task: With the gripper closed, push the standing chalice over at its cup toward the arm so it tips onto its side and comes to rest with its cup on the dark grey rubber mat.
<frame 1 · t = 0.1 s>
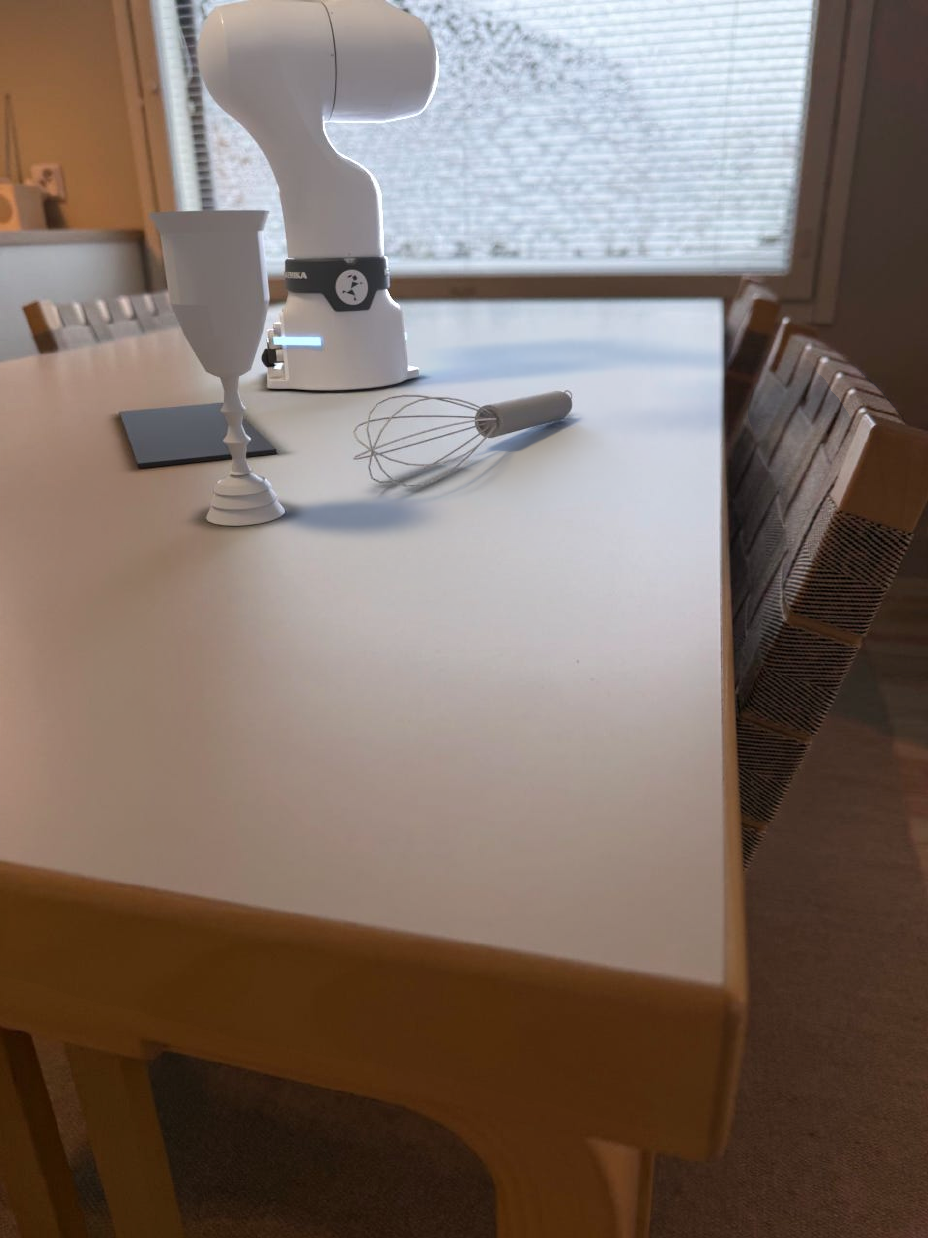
chalice: (246, 517, 60), on the table
mat: (189, 432, 86), on the table
kitchen whisk: (481, 452, 76), on the table
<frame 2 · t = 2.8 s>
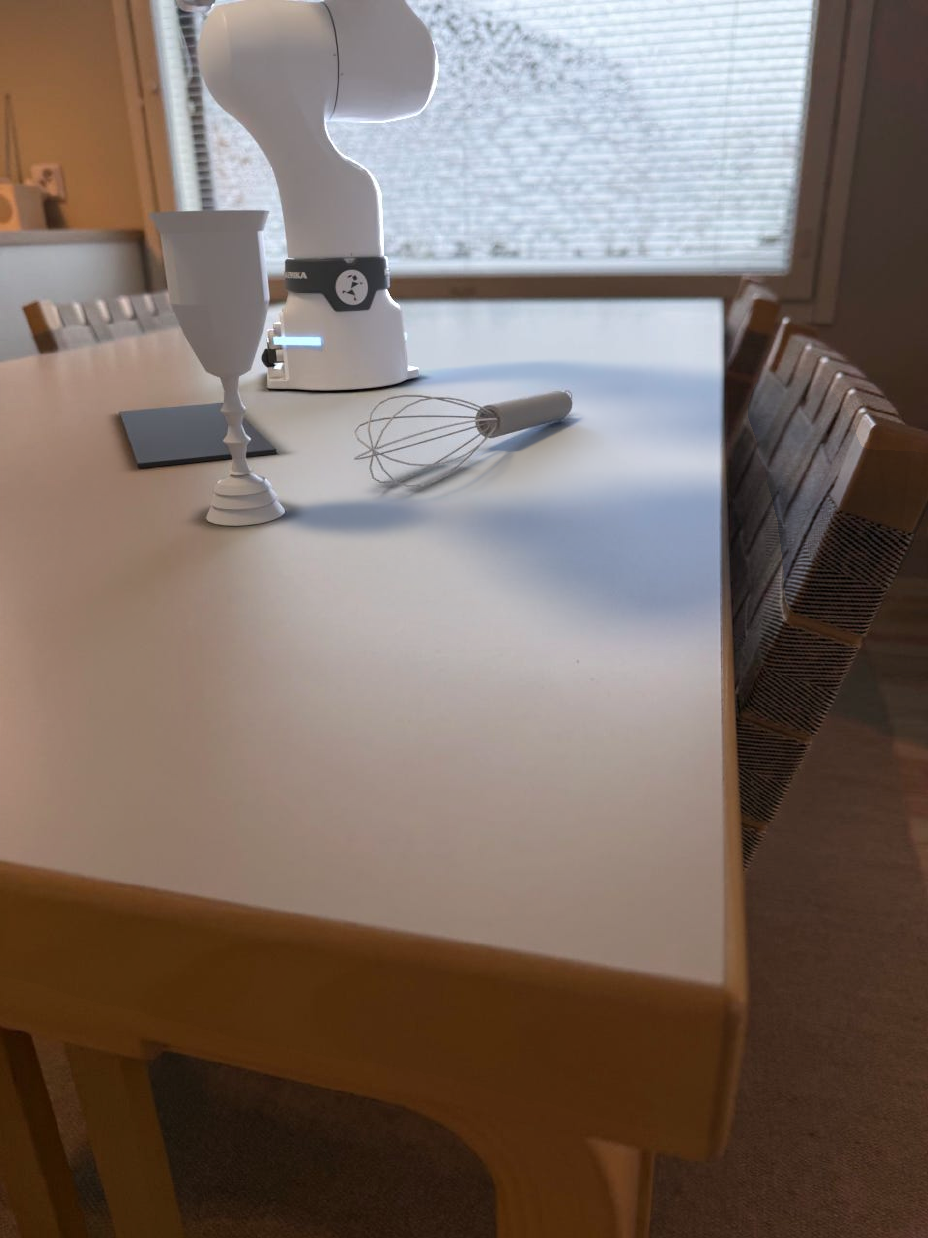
nothing on the table moved.
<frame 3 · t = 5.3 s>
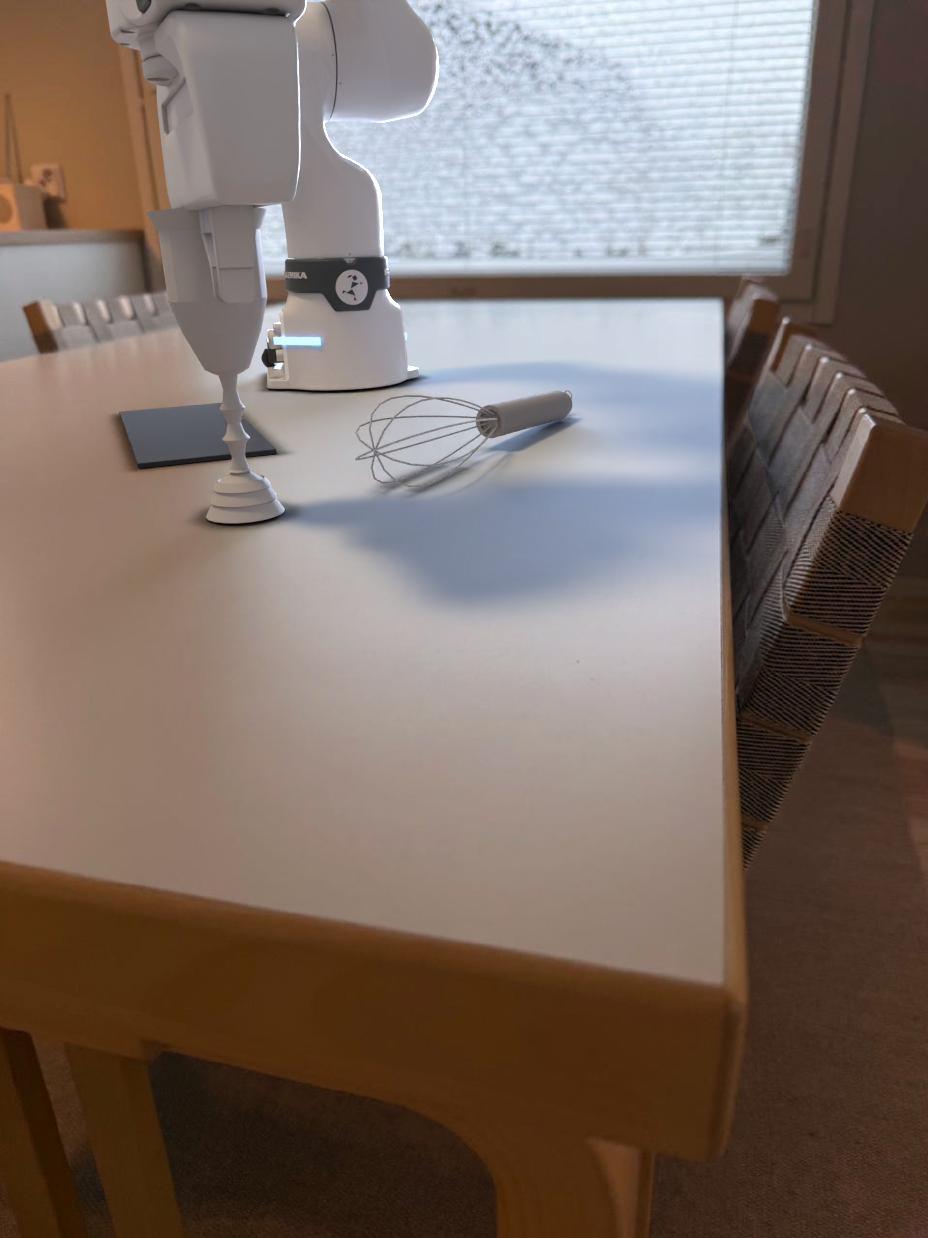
hand: (235, 302, 50), 13 cm above the table, tool pointing down, fingers closed
chalice: (246, 515, 60), on the table, touching gripper
everything else where it was.
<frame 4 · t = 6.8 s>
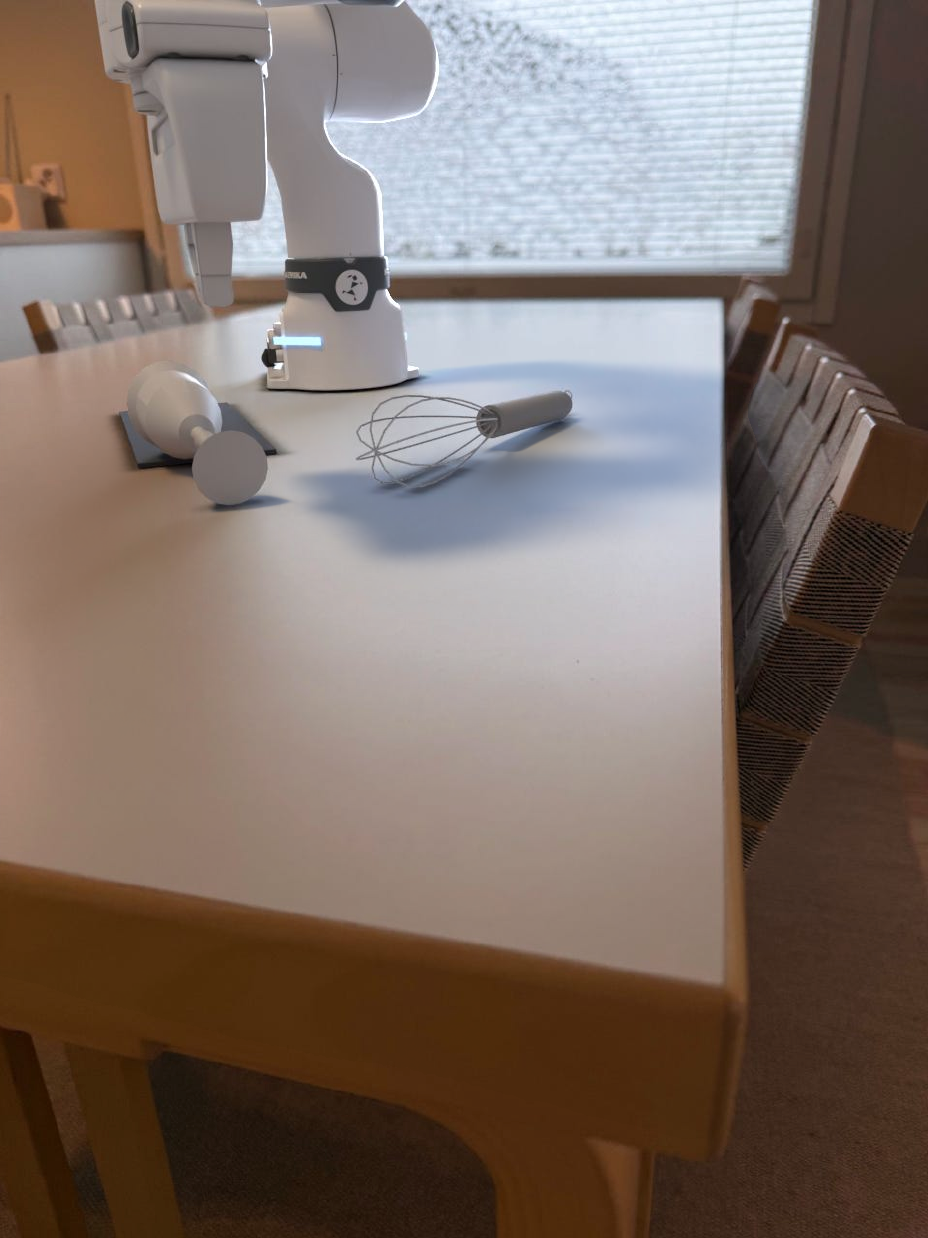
hand: (216, 305, 57), 13 cm above the table, tool pointing down, fingers closed
chalice: (231, 469, 61), point 3 cm above the table, touching mat
everything else where it was.
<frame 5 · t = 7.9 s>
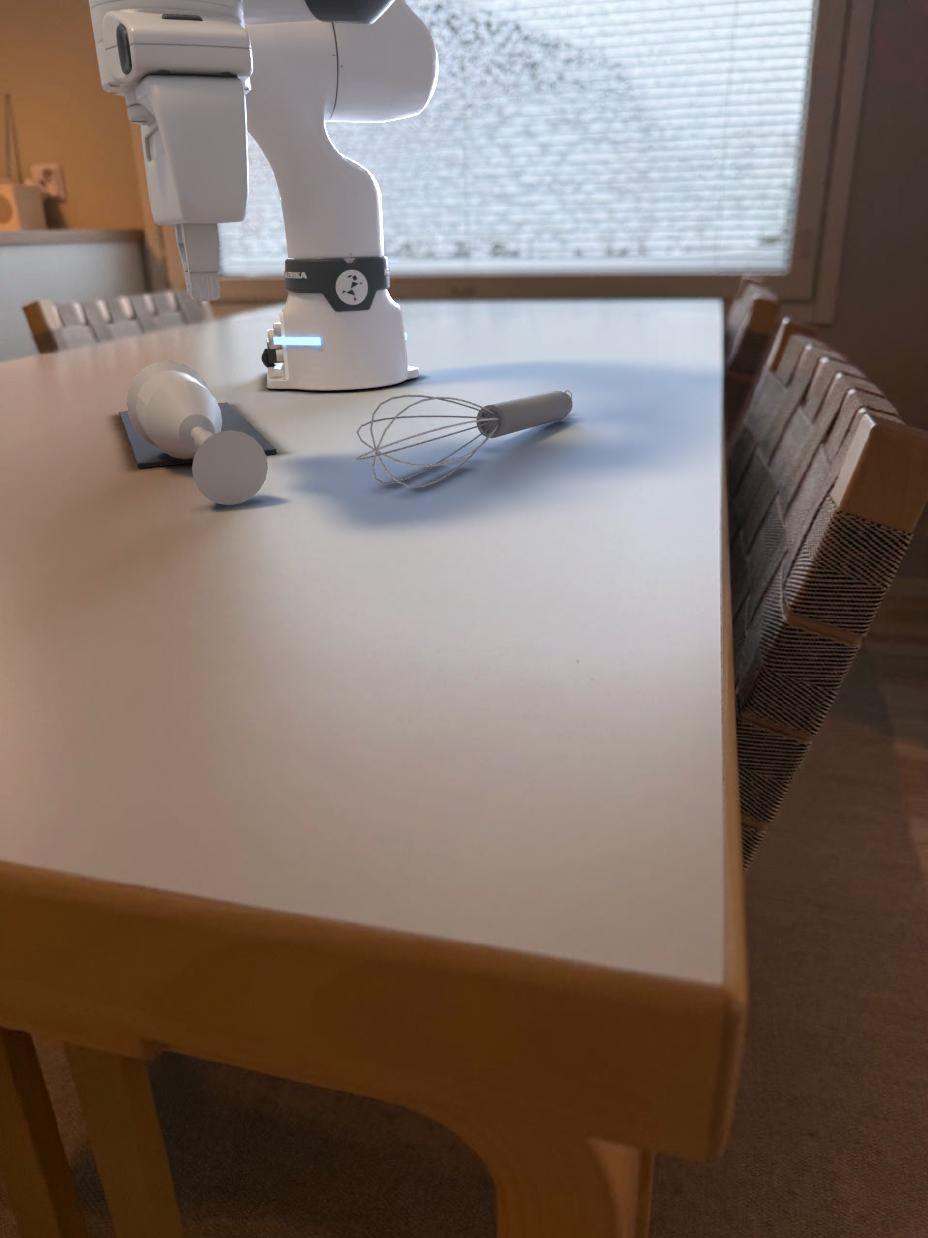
hand: (204, 299, 61), 13 cm above the table, tool pointing down, fingers closed
nothing on the table moved.
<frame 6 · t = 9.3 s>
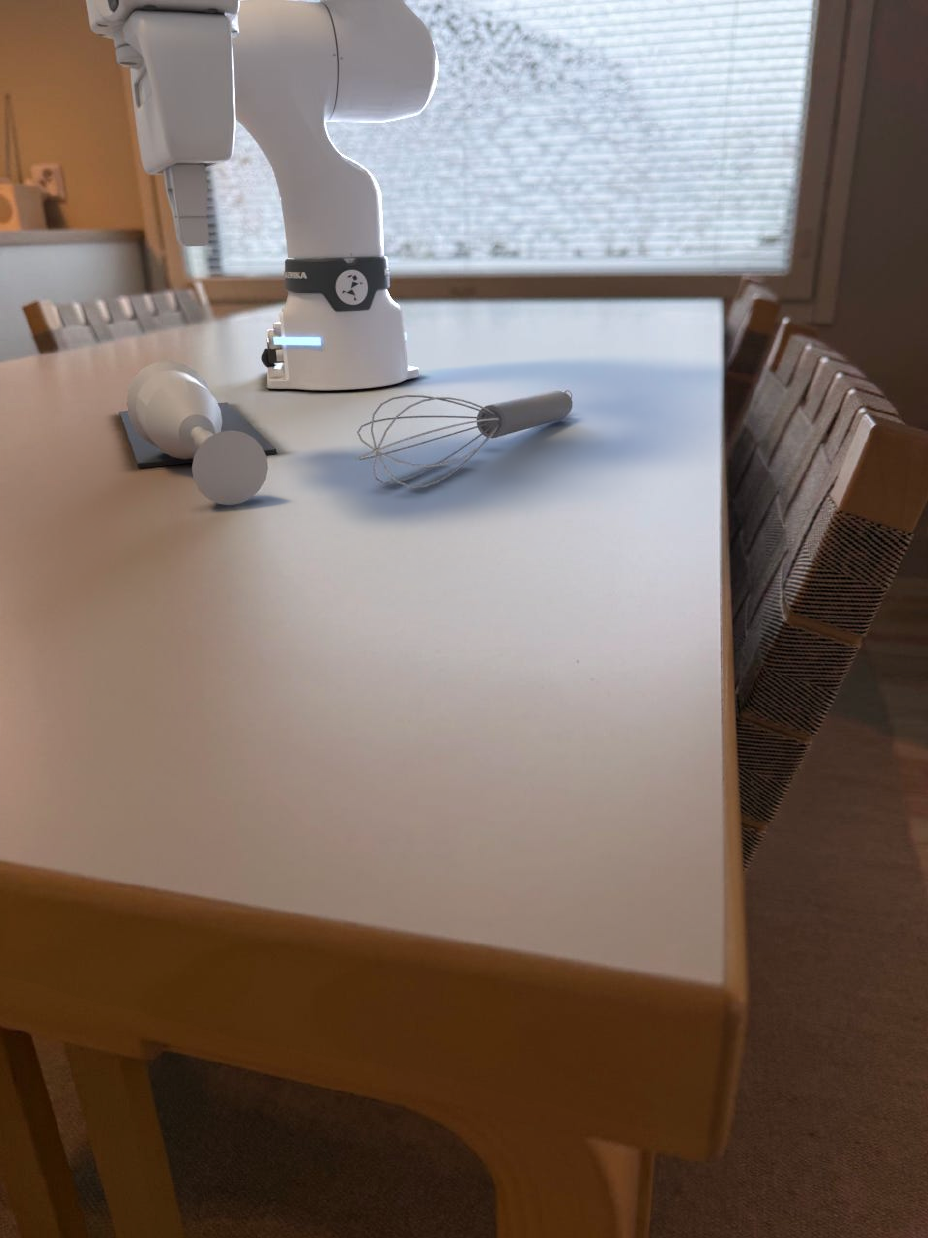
hand: (193, 245, 62), 16 cm above the table, tool pointing down, fingers closed
nothing on the table moved.
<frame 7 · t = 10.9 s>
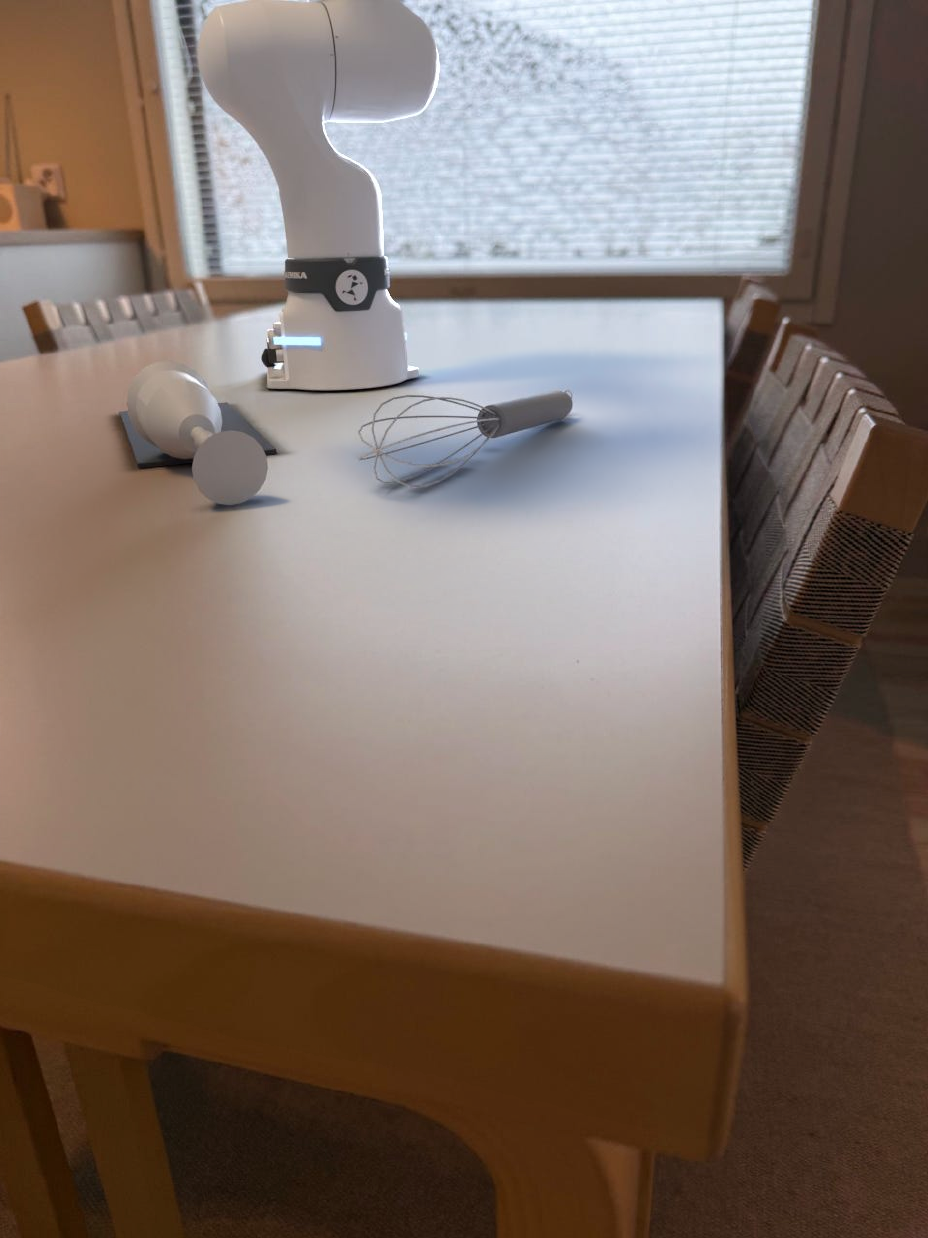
nothing on the table moved.
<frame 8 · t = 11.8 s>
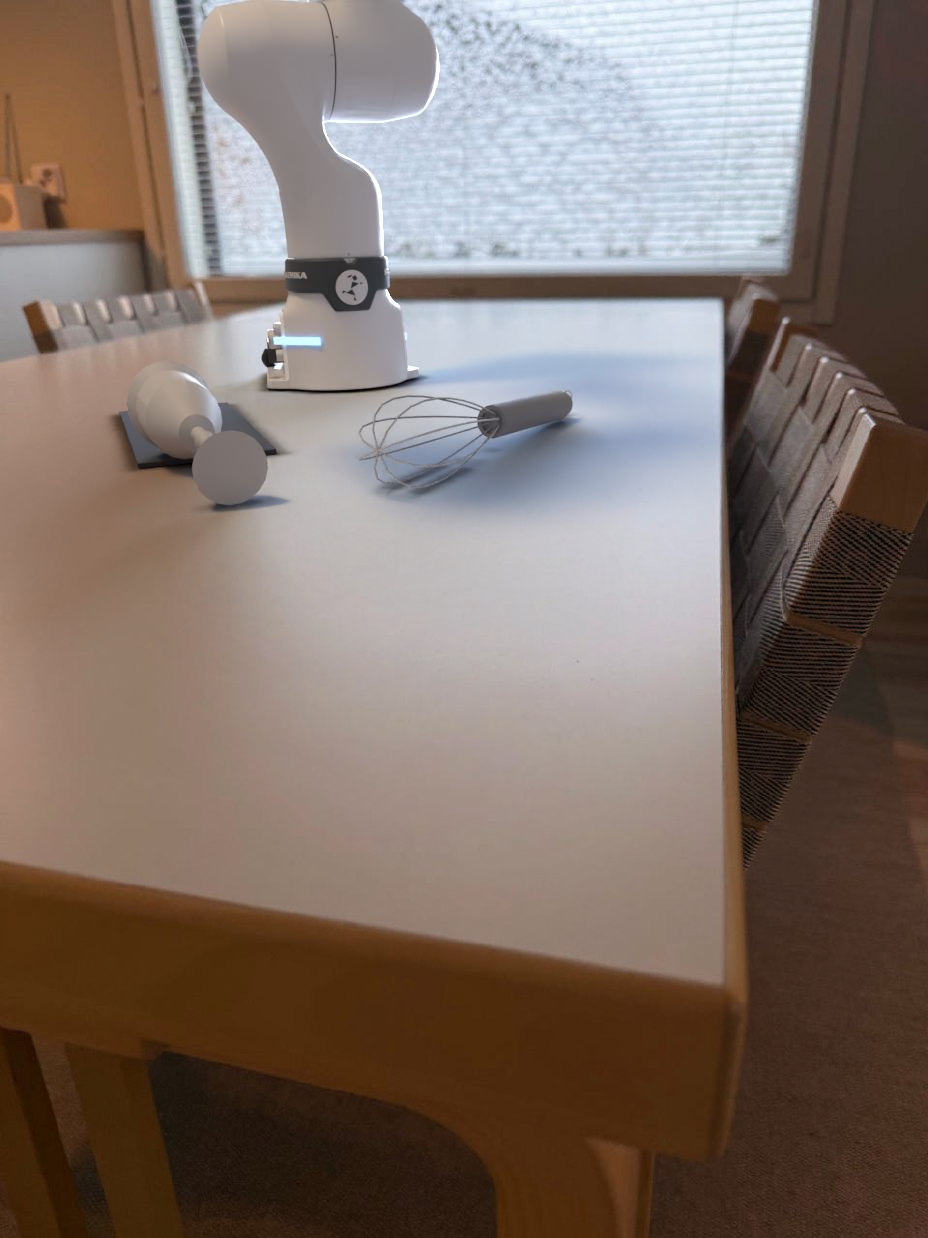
nothing on the table moved.
at the end: chalice tilted 85°; chalice touching mat, table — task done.
